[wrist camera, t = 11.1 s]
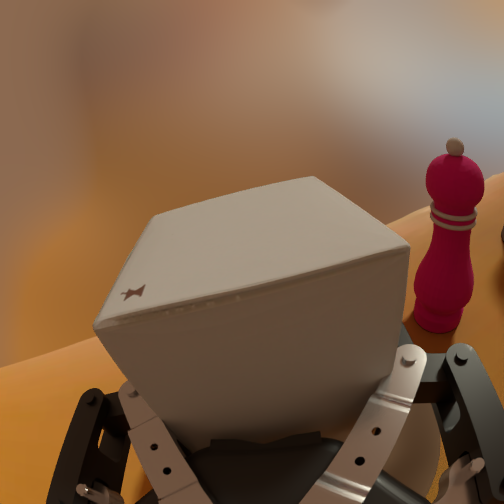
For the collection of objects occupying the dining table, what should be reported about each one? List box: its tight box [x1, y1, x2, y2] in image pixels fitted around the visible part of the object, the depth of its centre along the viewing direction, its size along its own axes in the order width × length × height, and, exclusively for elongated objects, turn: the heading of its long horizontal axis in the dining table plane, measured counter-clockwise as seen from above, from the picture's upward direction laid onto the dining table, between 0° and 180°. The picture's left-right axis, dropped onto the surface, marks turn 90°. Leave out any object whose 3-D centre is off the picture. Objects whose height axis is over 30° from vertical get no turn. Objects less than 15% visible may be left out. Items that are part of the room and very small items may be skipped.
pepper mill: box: [414, 138, 484, 333], centre depth 23 cm, size 7×7×20 cm
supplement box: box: [93, 176, 410, 453], centre depth 11 cm, size 7×7×13 cm
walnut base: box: [382, 403, 440, 498], centre depth 17 cm, size 20×20×5 cm
